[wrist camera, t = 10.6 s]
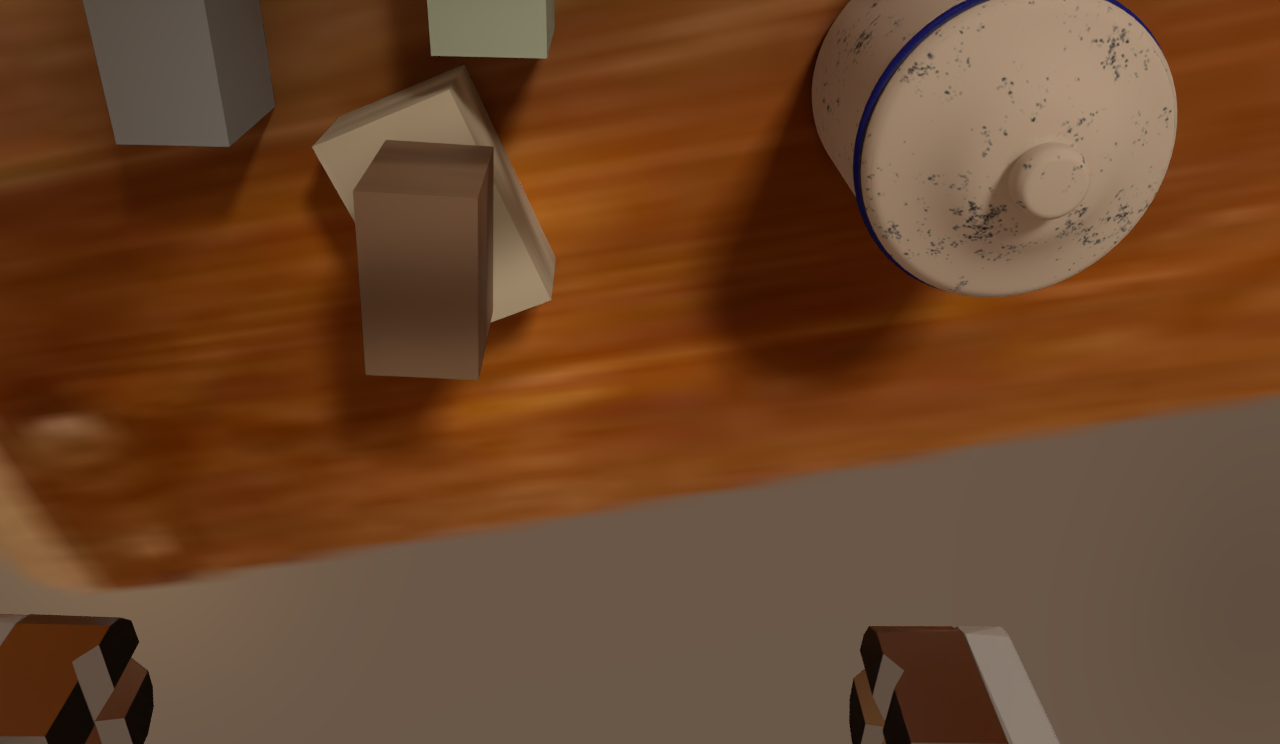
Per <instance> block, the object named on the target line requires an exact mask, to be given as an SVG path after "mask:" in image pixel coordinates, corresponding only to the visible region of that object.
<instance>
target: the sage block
mask: <svg viewBox="0 0 1280 744" xmlns="http://www.w3.org/2000/svg"><path fill="white" fill-rule="evenodd" d="M427 7H428V20H429V34H430V48H431V56H461V57H505V58H547V56H548V52H549V48H550V44H551V40H552V37H553V33H554V29H555V15H554V0H427Z"/></svg>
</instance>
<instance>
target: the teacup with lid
mask: <svg viewBox="0 0 1280 744" xmlns="http://www.w3.org/2000/svg"><path fill="white" fill-rule="evenodd" d="M812 109H813V115H814V121H815V125H816V129H817V132H818V135H819V137H820V140H821V142H822V144H823V146H824V148H825V150H826V152H827V154H828V155H829V157H830V158H831V160H832V161H833V163H834V164H835V166H836V167H837V169H838V171H839V172H840V174H841V175H842V177H843V178H844V180H845V181H846V183H847V184H848V186H849V187H850V189H851V190H852V192H853V194H854V195H855V197H856V200H857V203H858V207H859V210H860V213H861V216H862V218H863V221H864V223H865V225H866V227H867V229H868V231H869V233H870V235H871V237H872V238H873V240H874V241H875V242H876V244H877V245H878V247H879V248H880V249H881V250H882V252H883V253H884V254H885V255H886V256H887V257H888V258H889V259H890V260H891V261H892V262H893V263H894V264H895V265H896V266H897V267H899V268H900V269H901V270H903V271H904V272H905V273H907V274H908V275H910V276H912V277H913V278H915V279H917V280H919V281H920V282H923V283H925V284H927V285H929V286H932V287H934V288H938V289H941V290H944V291H948V292H951V293H955V294H960V295H965V296H973V297H1005V296H1012V295H1019V294H1024V293H1028V292H1032V291H1036V290H1039V289H1042V288H1045V287H1048V286H1051V285H1054V284H1056V283H1058V282H1061V281H1063V280H1066V279H1067V278H1069V277H1071V276H1073V275H1075V274H1077V273H1079V272H1081V271H1082V270H1084V269H1085V268H1087V267H1089V266H1090V265H1092V264H1093V263H1095V262H1096V261H1097V260H1099V259H1100V258H1102V257H1103V256H1104V255H1105V254H1107V253H1108V252H1109V251H1110V250H1111V249H1112V248H1114V247H1115V246H1116V245H1117V244H1118V243H1119V242H1120V241H1121V240H1122V239H1123V238H1124V237H1125V236H1126V235H1127V234H1128V233H1129V232H1130V230H1131V229H1132V228H1133V227H1134V226H1135V225H1136V224H1137V222H1138V221H1139V220H1140V218H1141V217H1142V215H1143V214H1144V213H1145V211H1146V210H1147V208H1148V207H1149V205H1150V204H1151V202H1152V200H1153V199H1154V197H1155V195H1156V193H1157V191H1158V189H1159V187H1160V185H1161V183H1162V181H1163V178H1164V176H1165V173H1166V171H1167V168H1168V165H1169V162H1170V159H1171V155H1172V152H1173V147H1174V142H1175V136H1176V127H1177V101H1176V92H1175V87H1174V82H1173V78H1172V75H1171V72H1170V69H1169V66H1168V63H1167V61H1166V58H1165V56H1164V54H1163V52H1162V50H1161V48H1160V46H1159V44H1158V42H1157V41H1156V39H1155V38H1154V36H1153V35H1152V33H1151V32H1150V30H1149V29H1148V28H1147V27H1146V26H1145V25H1144V23H1143V22H1142V21H1141V20H1140V19H1139V18H1138V17H1137V16H1136V15H1135V14H1133V13H1132V12H1131V11H1130V10H1129V9H1127V8H1126V7H1125V6H1123V5H1122V4H1120V3H1119V2H1118V1H1116V0H851V1H850V2H849V3H848V4H847V5H846V6H845V8H844V9H843V10H842V11H841V13H840V14H839V15H838V17H837V18H836V20H835V21H834V23H833V24H832V26H831V28H830V30H829V31H828V33H827V35H826V37H825V39H824V42H823V44H822V46H821V49H820V51H819V55H818V58H817V61H816V65H815V69H814V74H813V82H812Z"/></svg>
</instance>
